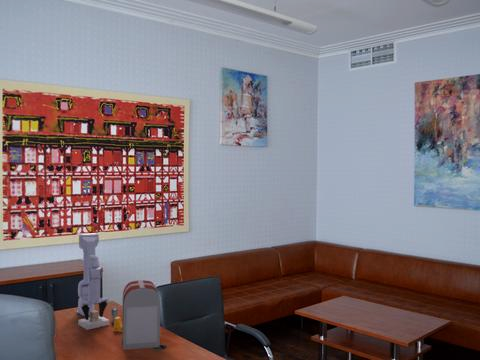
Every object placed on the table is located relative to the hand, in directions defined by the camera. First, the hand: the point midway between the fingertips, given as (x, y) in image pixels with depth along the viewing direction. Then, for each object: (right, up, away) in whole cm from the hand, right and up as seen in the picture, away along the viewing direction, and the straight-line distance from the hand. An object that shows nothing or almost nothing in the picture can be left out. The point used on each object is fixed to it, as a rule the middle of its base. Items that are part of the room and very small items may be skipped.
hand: (93, 318), depth 243 cm
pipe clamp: (+19, -5, -8) cm, 21 cm away
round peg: (+9, -4, +5) cm, 11 cm away
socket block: (0, -3, 0) cm, 3 cm away
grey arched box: (+28, -5, -21) cm, 36 cm away
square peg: (0, -4, 0) cm, 3 cm away
